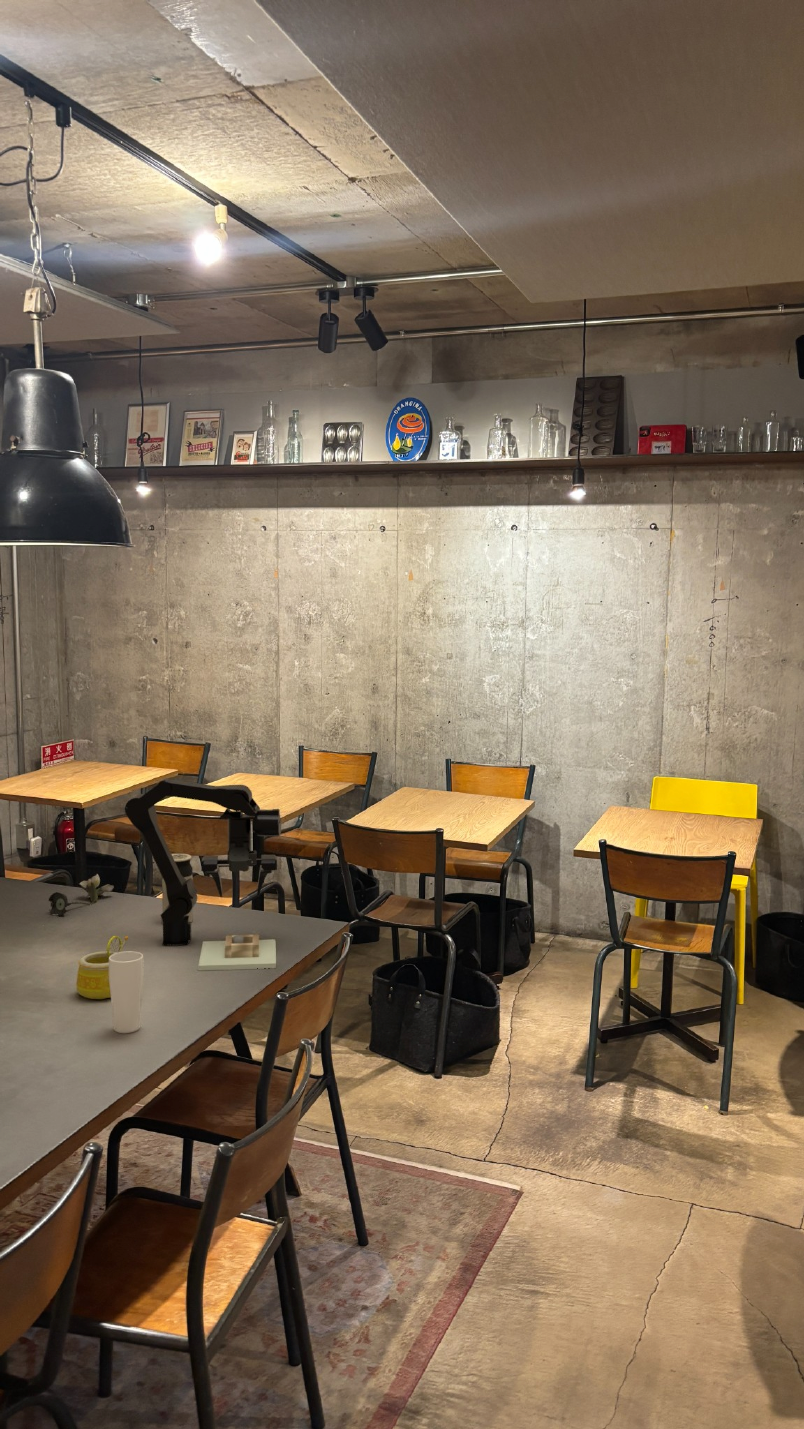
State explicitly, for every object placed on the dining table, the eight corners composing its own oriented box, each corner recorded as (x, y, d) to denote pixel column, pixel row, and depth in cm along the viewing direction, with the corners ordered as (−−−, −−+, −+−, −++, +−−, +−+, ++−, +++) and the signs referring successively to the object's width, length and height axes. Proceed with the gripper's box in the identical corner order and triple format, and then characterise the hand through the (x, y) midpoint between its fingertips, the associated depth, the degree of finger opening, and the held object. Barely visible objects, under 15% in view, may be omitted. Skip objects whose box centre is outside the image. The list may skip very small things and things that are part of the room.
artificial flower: (42, 919, 284) (37, 883, 285) (99, 908, 304) (95, 874, 306) (66, 914, 280) (61, 878, 282) (122, 904, 301) (117, 870, 302)
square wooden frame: (225, 957, 246) (224, 945, 246) (226, 947, 254) (226, 935, 254) (258, 956, 248) (258, 944, 247) (258, 946, 255) (258, 934, 255)
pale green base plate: (198, 970, 241) (198, 949, 240) (203, 946, 259) (203, 926, 258) (276, 968, 243) (276, 947, 243) (275, 944, 261) (275, 924, 261)
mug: (84, 1006, 219) (83, 951, 217) (71, 989, 228) (70, 937, 227) (143, 995, 225) (143, 941, 224) (128, 979, 235) (127, 928, 233)
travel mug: (197, 919, 281) (197, 854, 280) (185, 927, 274) (184, 861, 272) (170, 916, 283) (170, 852, 281) (157, 925, 275) (156, 859, 274)
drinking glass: (139, 1036, 203) (138, 962, 202) (105, 1035, 204) (103, 961, 202) (148, 1022, 210) (147, 951, 209) (115, 1022, 210) (114, 950, 209)
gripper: (199, 843, 250) (200, 906, 251) (277, 842, 252) (277, 904, 254) (202, 833, 261) (202, 893, 262) (276, 832, 263) (276, 892, 265)
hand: (239, 896), depth 261 cm, fingers open, 9 cm apart
